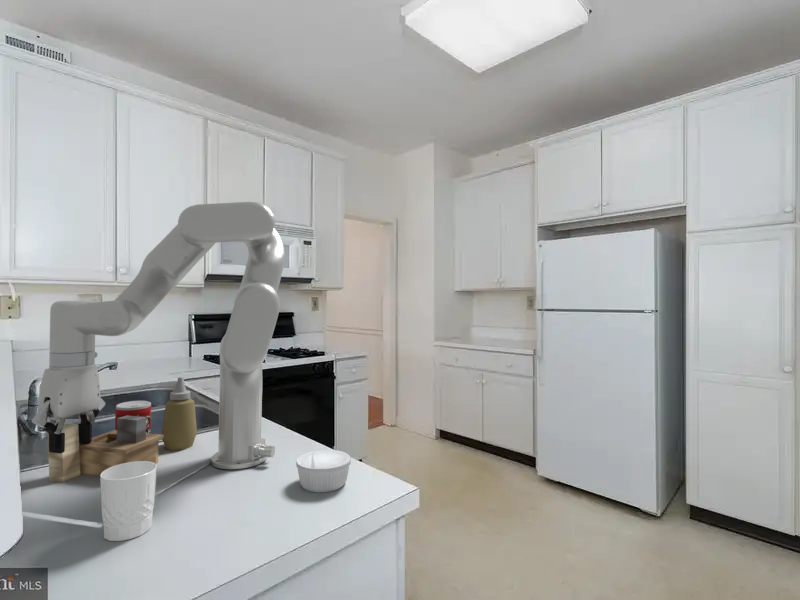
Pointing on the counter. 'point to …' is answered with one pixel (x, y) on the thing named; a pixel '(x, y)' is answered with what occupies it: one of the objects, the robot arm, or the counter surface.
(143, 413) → the canned food
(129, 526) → the white cup
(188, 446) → the squeeze bottle
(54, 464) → the wooden block
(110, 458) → the toolbox
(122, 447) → the wooden frame
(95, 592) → the counter surface
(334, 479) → the ramekin
